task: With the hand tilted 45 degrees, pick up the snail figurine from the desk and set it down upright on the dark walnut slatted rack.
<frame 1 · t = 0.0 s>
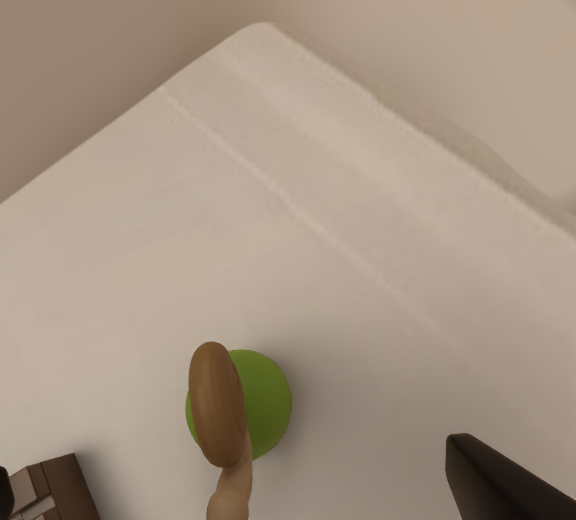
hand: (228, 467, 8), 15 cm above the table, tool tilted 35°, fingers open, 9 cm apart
snail figurine: (248, 410, 22), on the table
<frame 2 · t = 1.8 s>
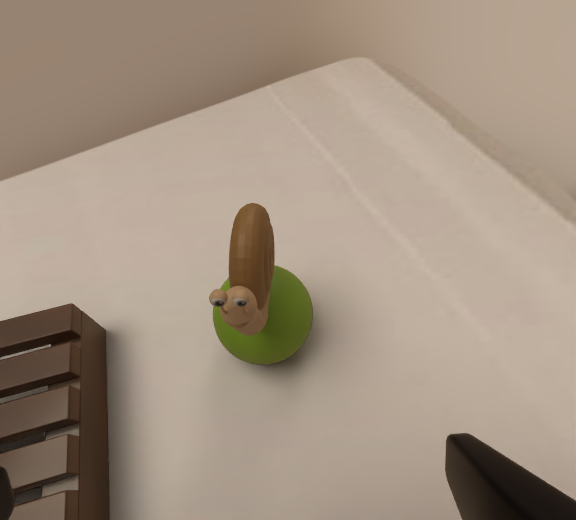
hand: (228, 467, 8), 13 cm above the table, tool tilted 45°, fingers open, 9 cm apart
snail figurine: (267, 340, 23), on the table
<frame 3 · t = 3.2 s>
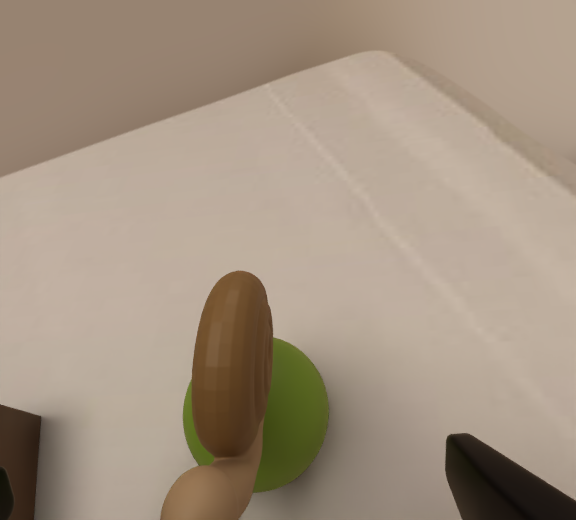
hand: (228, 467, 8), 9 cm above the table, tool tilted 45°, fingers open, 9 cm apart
snail figurine: (263, 432, 16), on the table
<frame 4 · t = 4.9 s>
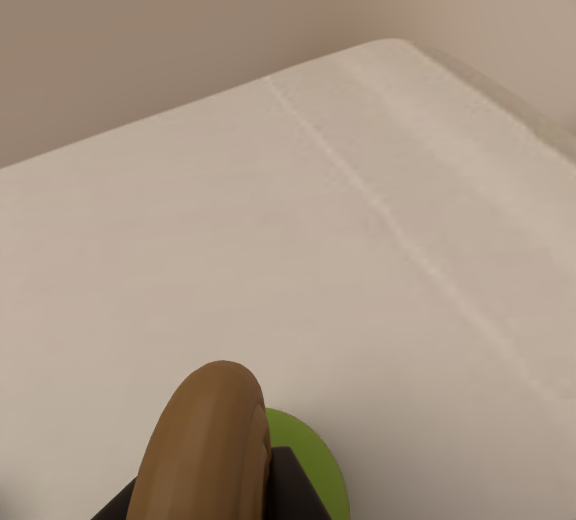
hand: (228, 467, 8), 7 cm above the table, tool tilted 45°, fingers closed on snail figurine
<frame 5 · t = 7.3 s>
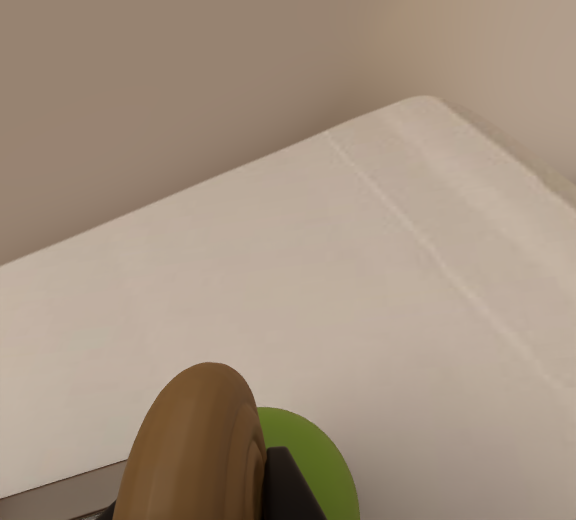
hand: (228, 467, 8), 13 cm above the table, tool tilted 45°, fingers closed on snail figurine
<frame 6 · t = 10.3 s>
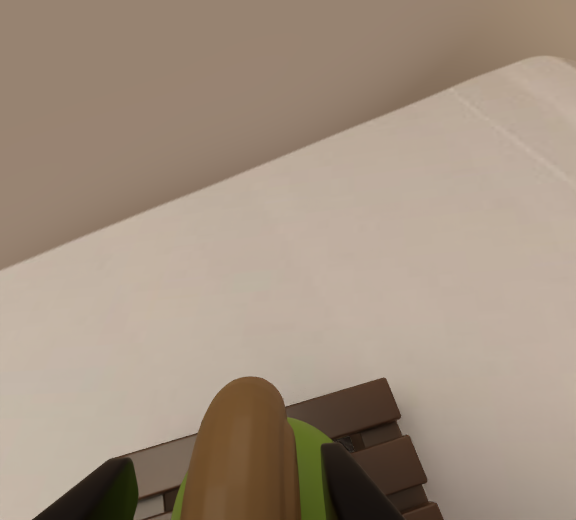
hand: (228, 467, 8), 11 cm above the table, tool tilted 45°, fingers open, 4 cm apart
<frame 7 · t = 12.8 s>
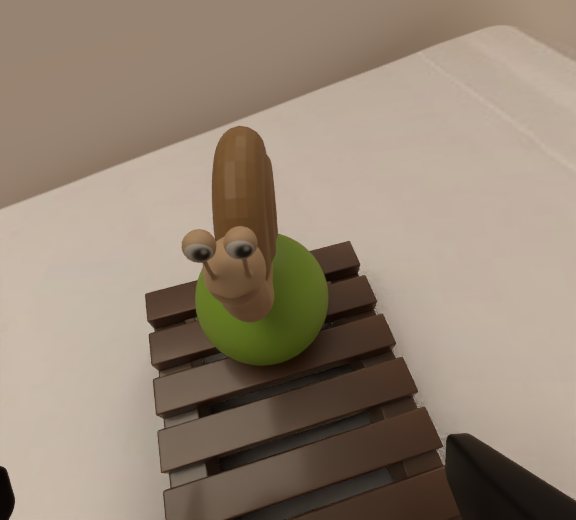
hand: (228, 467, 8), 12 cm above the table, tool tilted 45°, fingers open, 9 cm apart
snail figurine: (268, 333, 18), point 4 cm above the table, touching rack
rack: (292, 424, 19), on the table
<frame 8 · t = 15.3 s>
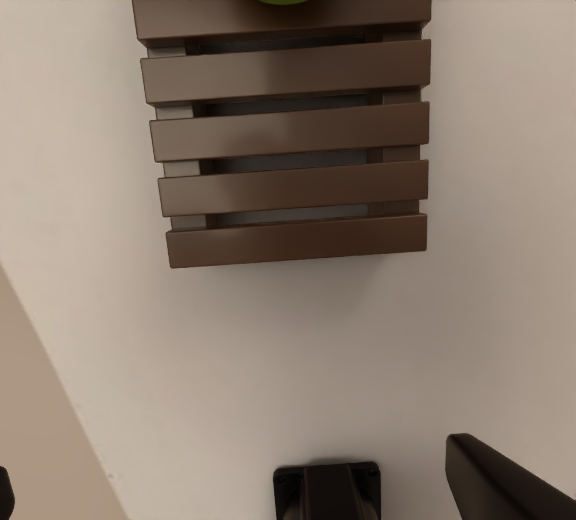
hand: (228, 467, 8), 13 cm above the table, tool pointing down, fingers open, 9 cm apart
rack: (285, 93, 18), on the table
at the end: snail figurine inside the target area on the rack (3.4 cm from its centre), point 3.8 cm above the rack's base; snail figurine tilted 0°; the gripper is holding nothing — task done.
